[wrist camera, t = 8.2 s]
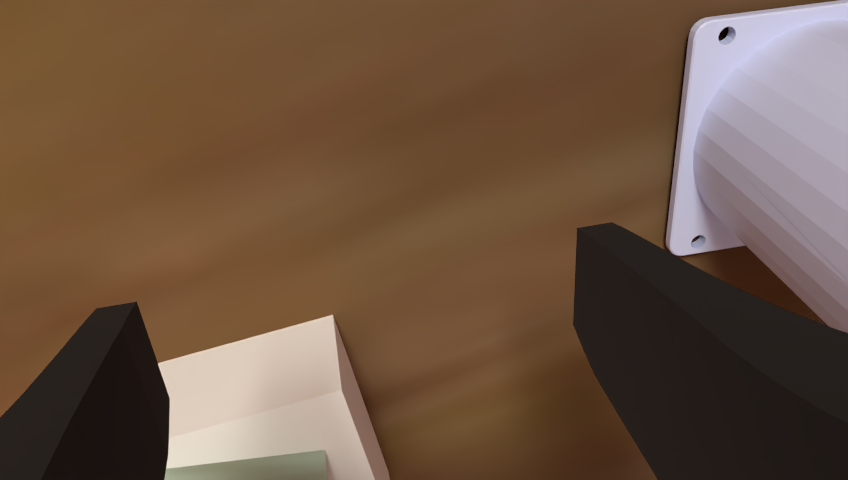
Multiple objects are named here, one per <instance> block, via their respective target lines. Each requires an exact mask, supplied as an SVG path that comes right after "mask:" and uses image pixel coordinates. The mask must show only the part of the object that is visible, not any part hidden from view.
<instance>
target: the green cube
mask: <svg viewBox="0 0 848 480" xmlns="http://www.w3.org/2000/svg"><path fill="white" fill-rule="evenodd" d="M164 480H327V470H326V457H325V450H318V451H310V452H302V453H293V454H285V455H277V456H268V457H260V458H252V459H243V460H235V461H227V462H218V463H210V464H202V465H193V466H185V467H177V468H168V469H166V472H165V478H164Z"/></svg>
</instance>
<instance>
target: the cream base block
mask: <svg viewBox="0 0 848 480" xmlns="http://www.w3.org/2000/svg"><path fill="white" fill-rule="evenodd" d="M158 366H159V369H160V372H161V375H162V378H163V380H164V383H165V386H166V389H167V392H168V395H169V398H170V413H169V447H168V460H167V466H166V469H168V468H177V467H185V466H193V465H202V464H210V463H218V462H227V461H235V460H243V459H252V458H260V457H268V456H277V455H285V454H293V453H302V452H310V451H318V450H325V457H326V470H327V480H390V478H389V472H388V469H387V466H386V463H385V461H384V458H383V455H382V452H381V449H380V446H379V444H378V441H377V438H376V435H375V432H374V429H373V427H372V424H371V421H370V418H369V415H368V412H367V410H366V407H365V404H364V401H363V398H362V395H361V393H360V390H359V387H358V384H357V381H356V379H355V376H354V373H353V370H352V367H351V364H350V362H349V359H348V356H347V353H346V350H345V347H344V345H343V342H342V339H341V336H340V333H339V330H338V328H337V325H336V322H335V319H334V316H333V315H331V316H327V317H323V318H320V319H316V320H312V321H309V322H305V323H302V324H298V325H294V326H291V327H287V328H284V329H280V330H276V331H273V332H269V333H266V334H262V335H258V336H255V337H251V338H247V339H244V340H240V341H237V342H233V343H229V344H226V345H222V346H219V347H215V348H211V349H208V350H204V351H200V352H197V353H193V354H190V355H186V356H182V357H179V358H175V359H172V360H168V361H164V362H161V363H158Z"/></svg>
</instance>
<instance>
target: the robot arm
mask: <svg viewBox="0 0 848 480" xmlns="http://www.w3.org/2000/svg"><path fill="white" fill-rule="evenodd" d="M726 27H728V28H729V32H728V34H727V36H726V37H725V38H724V39H723V40H720V41H719V39H718V36H719V34H720V32H721V31H722V30H723V29H724V28H726ZM698 235H700V237H699V239H697V240H696V241H695V242H692V243H691V241H692V239H693V238H694V237H696V236H698ZM666 246H667V248H668V249H669V250H670V251H671V252H672V254H671V253H669V252H667V251H665V250H663V249H662V248H660V247H658V246H656V245H654V244H653V243H651V242H649V241H647V240H645V239H643V238H642V237H640V236H638V235H636V234H634V233H632V232H630V231H629V230H627V229H625V228H623V227H621V226H618V225H616V224H614V223H606V224H600V225H594V226H588V227H582V228H577V246H576V271H575V295H574V320H573V325H574V328H575V330H576V332H577V335H578V337H579V340H580V342H581V345H582V347H583V350H584V352H585V354H586V356H587V359H588V361H589V363H590V366H591V368H592V370H593V372H594V374H595V376H596V378H597V379H598V381H599V383H600V385H601V386H602V388H603V390H604V391H605V393H606V395H607V396H608V398H609V400H610V401H611V403H612V405H613V406H614V408H615V410H616V411H617V413H618V415H619V416H620V418H621V420H622V421H623V423H624V425H625V426H626V428H627V430H628V431H629V433H630V434H631V436H632V438H633V439H634V441H635V443H636V444H637V446H638V448H639V449H640V451H641V453H642V454H643V456H644V457H645V459H646V461H647V462H648V464H649V466H650V467H651V469H652V471H653V472H654V474H655V476H656V477H657V479H658V480H848V0H839V1H831V2H823V3H816V4H808V5H800V6H792V7H784V8H776V9H768V10H761V11H753V12H745V13H737V14H729V15H721V16H713V17H706V18H703V19H700V20H699V21H698V22H697V23H695V24H694V26H693V27H692V29H691V30H690V33H689V37H688V46H687V55H686V64H685V73H684V82H683V90H682V99H681V108H680V117H679V126H678V135H677V144H676V153H675V162H674V171H673V180H672V189H671V198H670V206H669V215H668V224H667V233H666ZM740 246H747V247H748V248H749V249H750V250H751V251H752V252H753V253H754V254H755V255H756V256H757V257H758V258H759V259H760V260H761V261H762V262H763V263H764V264H765V265H766V266H767V267H768V268H769V269H770V270H771V271H772V272H773V273H774V274H775V275H776V276H777V277H779V278H780V279H781V280H782V281H783V282H784V283H785V284H786V285H787V286H788V287H789V288H790V289H791V290H792V291H793V292H794V293H795V294H796V295H797V296H798V297H799V298H800V299H801V300H802V301H803V302H804V303H805V304H806V305H807V306H808V307H809V308H810V309H811V310H812V311H813V312H814V313H815V314H816V315H818V316H819V317H820V318H821V319H822V320H823V321H824V322H825V323H826V324H827V325H828V326H826V325H824V324H821V323H818V322H816V321H813V320H811V319H808V318H805V317H803V316H800V315H797V314H795V313H792V312H790V311H787V310H785V309H782V308H780V307H778V306H775V305H773V304H771V303H768V302H766V301H764V300H762V299H760V298H758V297H755V296H753V295H751V294H749V293H747V292H745V291H742V290H740V289H738V288H736V287H734V286H732V285H730V284H728V283H726V282H724V281H722V280H720V279H718V278H716V277H714V276H712V275H710V274H708V273H706V272H704V271H702V270H700V269H698V268H697V267H695V266H693V265H691V264H689V263H687V262H685V261H684V260H682V259H680V258H678V257H676V256H684V255H690V254H696V253H703V252H709V251H715V250H721V249H727V248H733V247H740ZM673 254H674V255H676V256H674V255H673ZM169 413H170V398H169V395H168V392H167V389H166V386H165V383H164V380H163V378H162V375H161V372H160V369H159V366H158V363H157V360H156V357H155V354H154V351H153V348H152V345H151V342H150V340H149V337H148V334H147V331H146V328H145V325H144V322H143V319H142V316H141V313H140V310H139V307H138V305H137V302H133V303H127V304H121V305H115V306H109V307H103V308H97V309H96V310H95V311H94V312H93V313H92V314H91V315H90V316H89V317H88V318H87V320H86V321H85V322H84V323H83V324H82V325H81V327H80V328H79V329H78V330H77V331H76V333H75V334H74V335H73V336H72V337H71V339H70V340H69V341H68V342H67V343H66V344H65V346H64V347H63V348H62V349H61V350H60V352H59V353H58V354H57V355H56V356H55V358H54V359H53V360H52V361H51V362H50V363H49V364H48V366H47V367H46V368H45V369H44V370H43V371H42V373H41V374H40V375H39V376H38V377H37V378H36V379H35V381H34V382H33V383H32V384H31V385H30V386H29V387H28V389H27V390H26V391H25V392H24V393H23V394H22V395H21V396H20V398H19V399H18V400H17V401H16V402H15V403H14V404H13V405H12V406H11V407H10V408H9V409H8V410H7V411H6V412H5V413H4V414H3V415H2V416H1V417H0V480H164V478H165V472H166V466H167V460H168V447H169Z"/></svg>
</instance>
